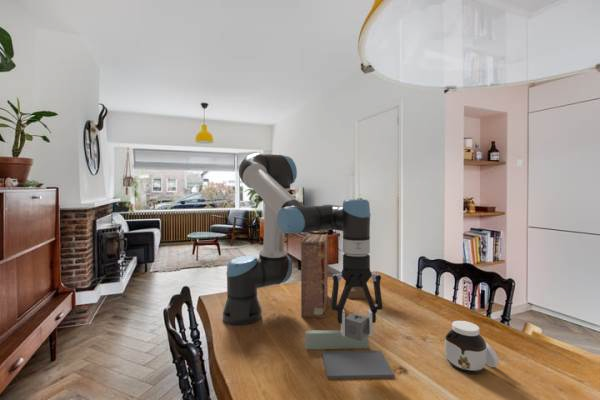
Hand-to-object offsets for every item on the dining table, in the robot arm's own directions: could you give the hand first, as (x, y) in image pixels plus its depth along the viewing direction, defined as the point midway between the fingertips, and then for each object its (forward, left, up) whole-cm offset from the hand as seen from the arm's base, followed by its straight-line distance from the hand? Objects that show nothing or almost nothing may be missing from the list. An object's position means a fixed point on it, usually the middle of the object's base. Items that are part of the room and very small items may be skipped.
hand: (356, 333), depth 85 cm
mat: (0, 0, -9) cm, 9 cm away
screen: (-4, +10, -9) cm, 14 cm away
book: (-8, +45, -9) cm, 47 cm away
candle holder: (+13, +58, -9) cm, 60 cm away
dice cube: (0, 0, 0) cm, 1 cm away
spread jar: (+33, -1, -9) cm, 34 cm away
